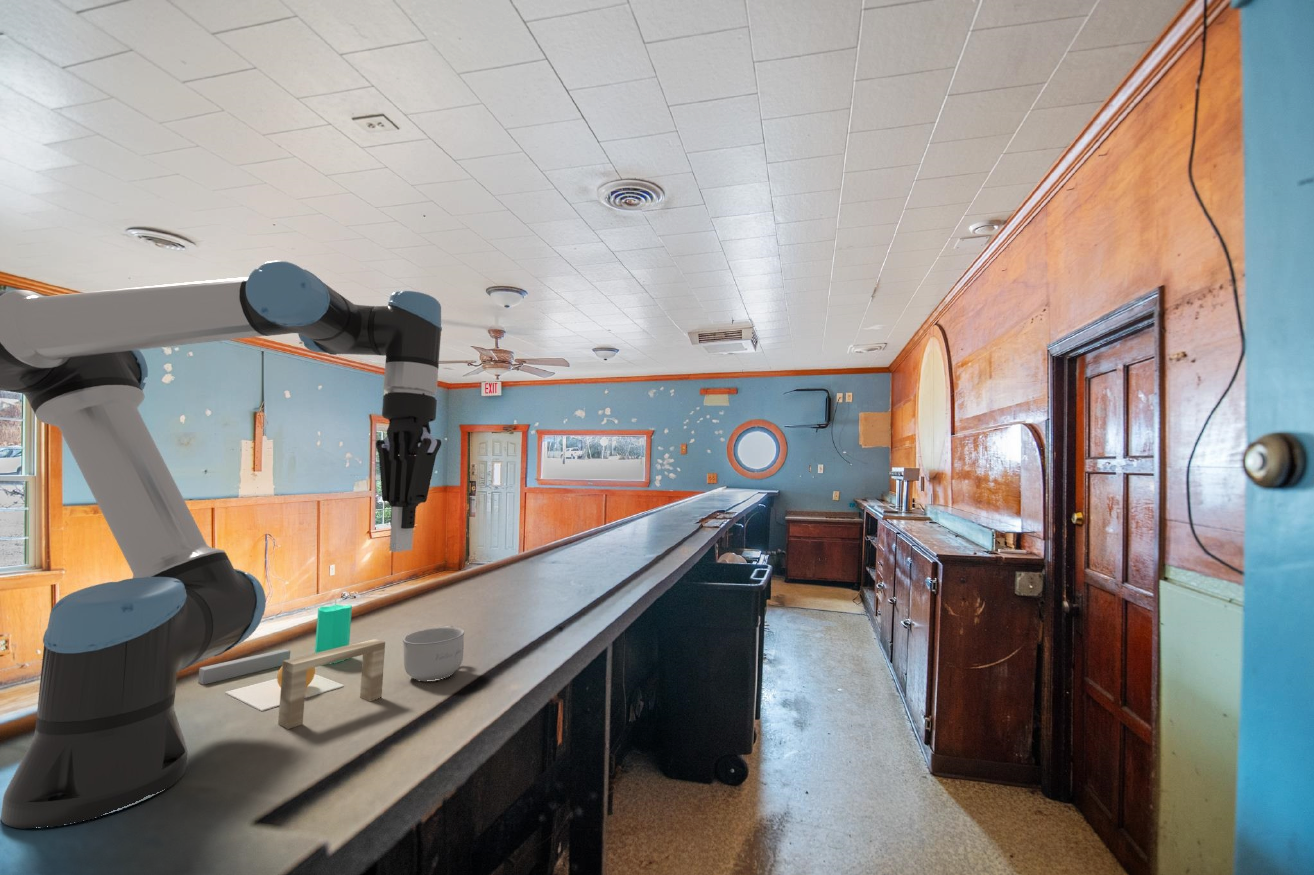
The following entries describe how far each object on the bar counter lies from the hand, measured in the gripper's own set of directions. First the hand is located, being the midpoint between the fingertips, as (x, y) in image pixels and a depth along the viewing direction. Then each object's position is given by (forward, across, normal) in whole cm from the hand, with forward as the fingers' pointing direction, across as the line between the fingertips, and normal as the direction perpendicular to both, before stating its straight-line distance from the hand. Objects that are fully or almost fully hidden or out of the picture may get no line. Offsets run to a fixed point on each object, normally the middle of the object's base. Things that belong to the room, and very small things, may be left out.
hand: (400, 550), depth 82 cm
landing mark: (+26, +30, 0) cm, 40 cm away
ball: (+24, +28, -1) cm, 37 cm away
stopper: (+26, +45, 0) cm, 52 cm away
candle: (+27, +40, -13) cm, 50 cm away
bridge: (+26, +15, 0) cm, 30 cm away
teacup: (+27, +16, -20) cm, 37 cm away
